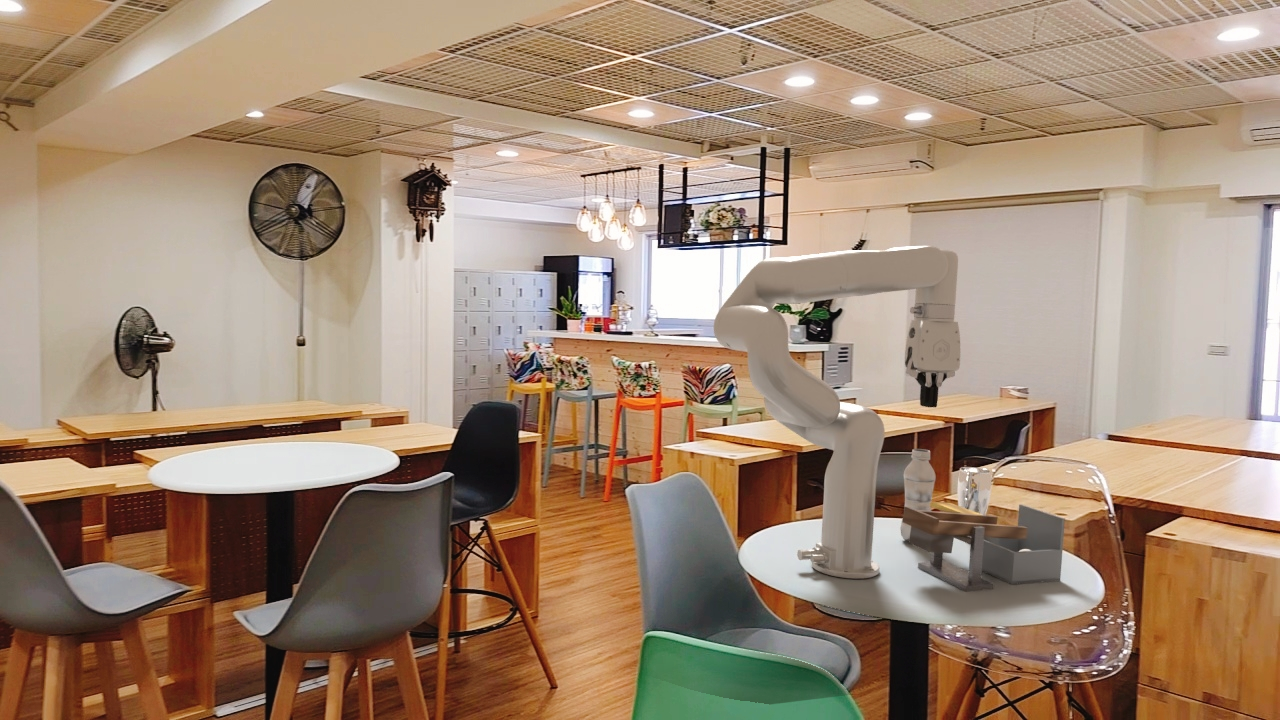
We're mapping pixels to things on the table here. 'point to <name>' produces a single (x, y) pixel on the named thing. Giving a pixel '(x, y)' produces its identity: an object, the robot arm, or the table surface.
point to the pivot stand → (958, 575)
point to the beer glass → (974, 489)
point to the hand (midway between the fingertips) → (928, 406)
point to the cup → (1027, 565)
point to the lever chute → (953, 527)
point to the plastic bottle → (918, 485)
